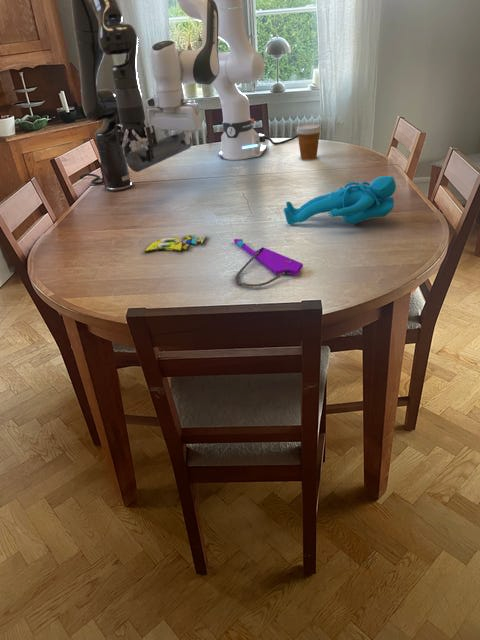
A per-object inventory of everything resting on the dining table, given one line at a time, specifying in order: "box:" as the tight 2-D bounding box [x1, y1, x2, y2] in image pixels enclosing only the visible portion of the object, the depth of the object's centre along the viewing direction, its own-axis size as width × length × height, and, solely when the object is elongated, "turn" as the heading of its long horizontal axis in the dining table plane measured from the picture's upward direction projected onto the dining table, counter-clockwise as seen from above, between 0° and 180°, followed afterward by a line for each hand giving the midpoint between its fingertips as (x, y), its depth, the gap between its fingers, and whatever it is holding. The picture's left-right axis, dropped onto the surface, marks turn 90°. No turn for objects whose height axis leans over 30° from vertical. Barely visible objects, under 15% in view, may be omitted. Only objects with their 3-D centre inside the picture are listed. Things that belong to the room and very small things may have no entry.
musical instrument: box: [233, 238, 304, 287], centre depth 115 cm, size 24×2×20 cm
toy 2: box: [283, 175, 397, 226], centre depth 132 cm, size 17×11×30 cm
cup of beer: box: [296, 123, 322, 161], centre depth 190 cm, size 10×10×12 cm
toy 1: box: [144, 234, 207, 254], centre depth 130 cm, size 10×1×15 cm
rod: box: [127, 131, 193, 173], centre depth 156 cm, size 26×6×6 cm, turn 148°
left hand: (140, 160), depth 149 cm, fingers open, 8 cm apart
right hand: (178, 143), depth 162 cm, fingers closed on rod, 6 cm apart
